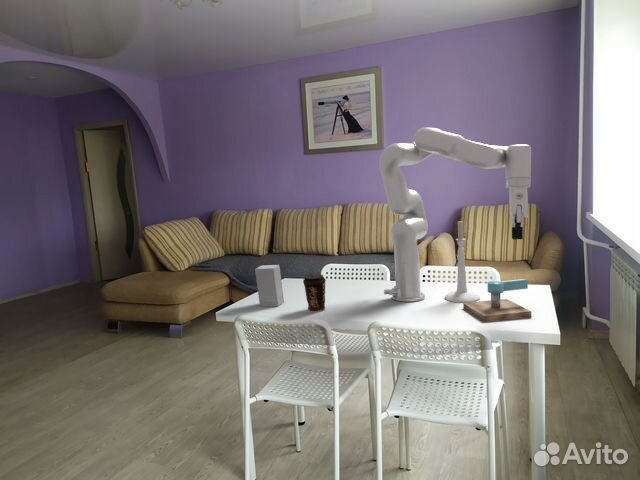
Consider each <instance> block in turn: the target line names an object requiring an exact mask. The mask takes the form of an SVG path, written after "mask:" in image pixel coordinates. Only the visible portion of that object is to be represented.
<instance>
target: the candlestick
mask: <svg viewBox="0 0 640 480" xmlns="http://www.w3.org/2000/svg"><path fill="white" fill-rule="evenodd" d="M464 237H465V236H464V221H462V220H460V221H457V238H455V240H456V241H457V242H456V243H457V245H458V249H457V279H456V280H457V282H456V283H457V285H456V290H453V291H450V292H447V294H445V296H444V299H445V301H448V302H451V303H459V304H460V303H461V304H463V303H468V302H479V301H480V299H481V297H480V295H479V294H478V293H476V292H474V291H470V290H468V286H467V275H466V273H467V272H466V262H465V261H466V260H465V259H466V258H465V248H464V245H465V241H466V238H464Z"/></svg>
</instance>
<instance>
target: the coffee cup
mask: <svg viewBox="0 0 640 480" xmlns="http://www.w3.org/2000/svg"><path fill="white" fill-rule="evenodd" d="M326 281H327V280H326V278H325V277H324V274H321V273H320V274H319V273H315V274H307V275H306V276H304V278H303V282H302V283H303V286H304V291H305V298H306V301H307V310H308V312H310V313H321V312H323V311H325V308H326V307H325V306H326Z"/></svg>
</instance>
